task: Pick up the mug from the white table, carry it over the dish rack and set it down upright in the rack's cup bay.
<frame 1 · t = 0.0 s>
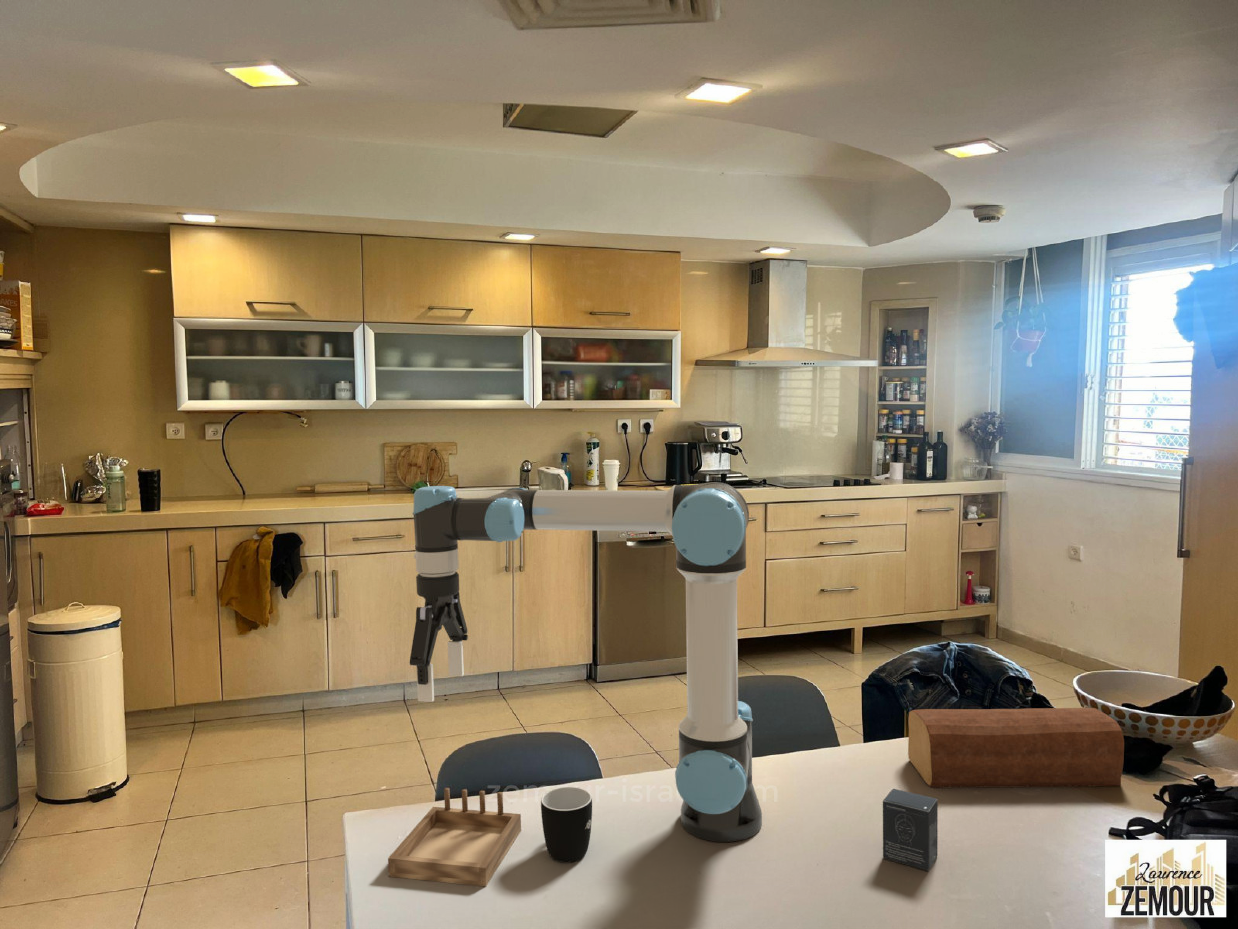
hand: (441, 687, 156), 28 cm above the table, fingers open, 13 cm apart
bread: (1010, 774, 180), on the table
mug: (568, 850, 153), on the table
rack: (458, 852, 153), on the table
box: (909, 859, 148), on the table
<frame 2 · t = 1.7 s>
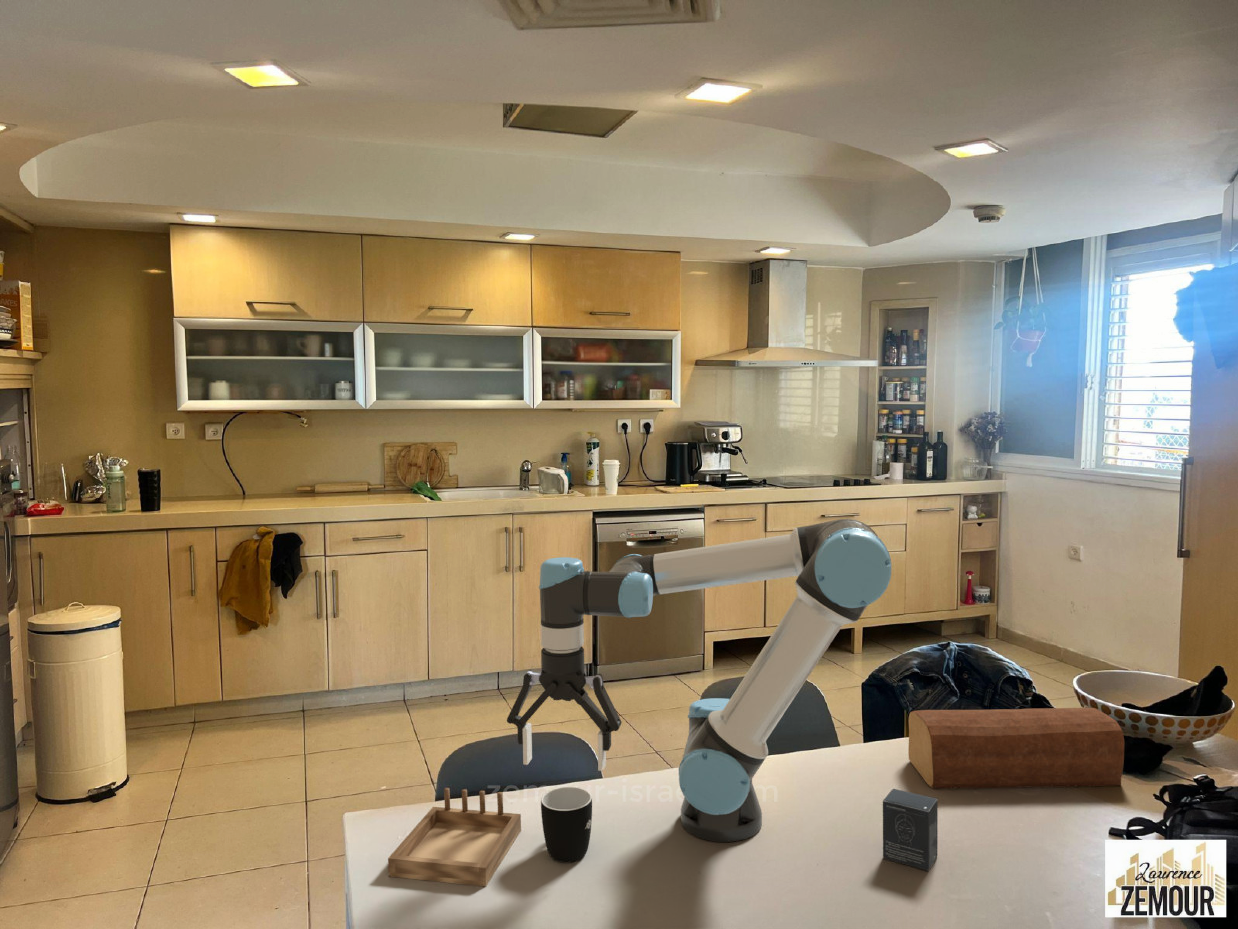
hand: (564, 764, 152), 15 cm above the table, fingers open, 13 cm apart
nothing on the table moved.
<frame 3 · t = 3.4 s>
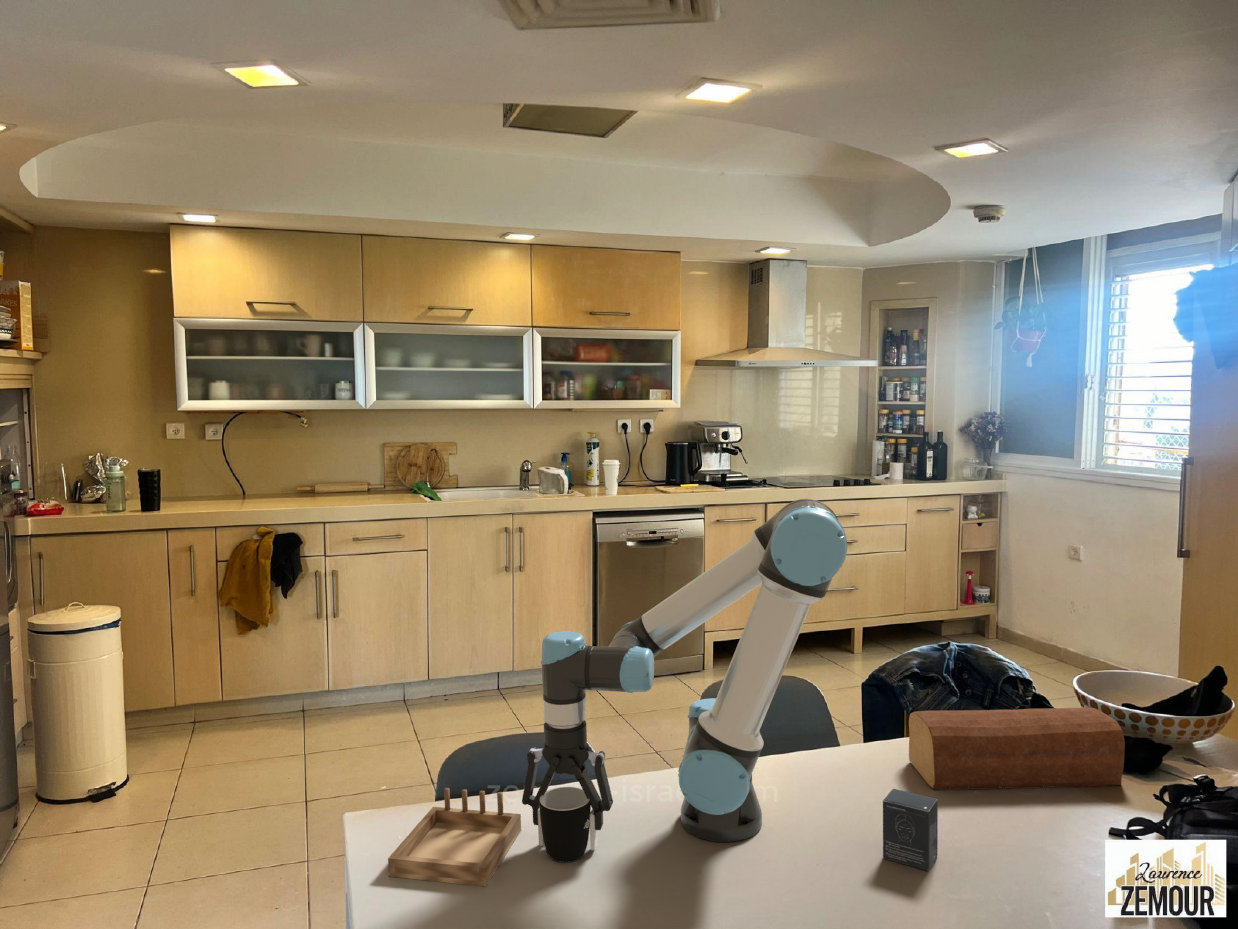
hand: (568, 843, 153), 1 cm above the table, fingers closed on mug, 9 cm apart
mug: (566, 849, 153), on the table, touching gripper
everything else where it was.
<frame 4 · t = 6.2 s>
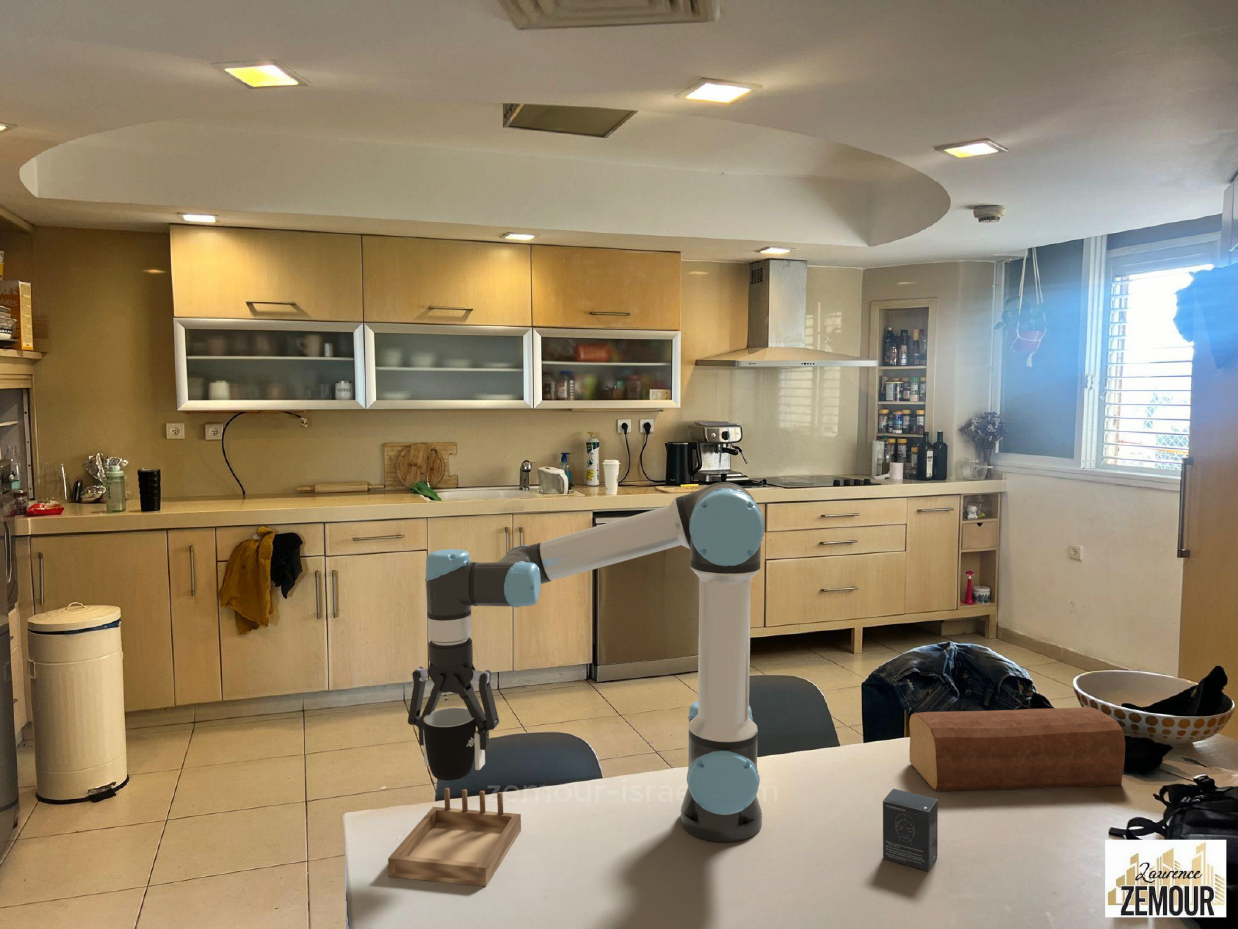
hand: (454, 764, 152), 16 cm above the table, fingers closed on mug, 9 cm apart
mug: (453, 770, 152), point 15 cm above the table, touching gripper
everything else where it was.
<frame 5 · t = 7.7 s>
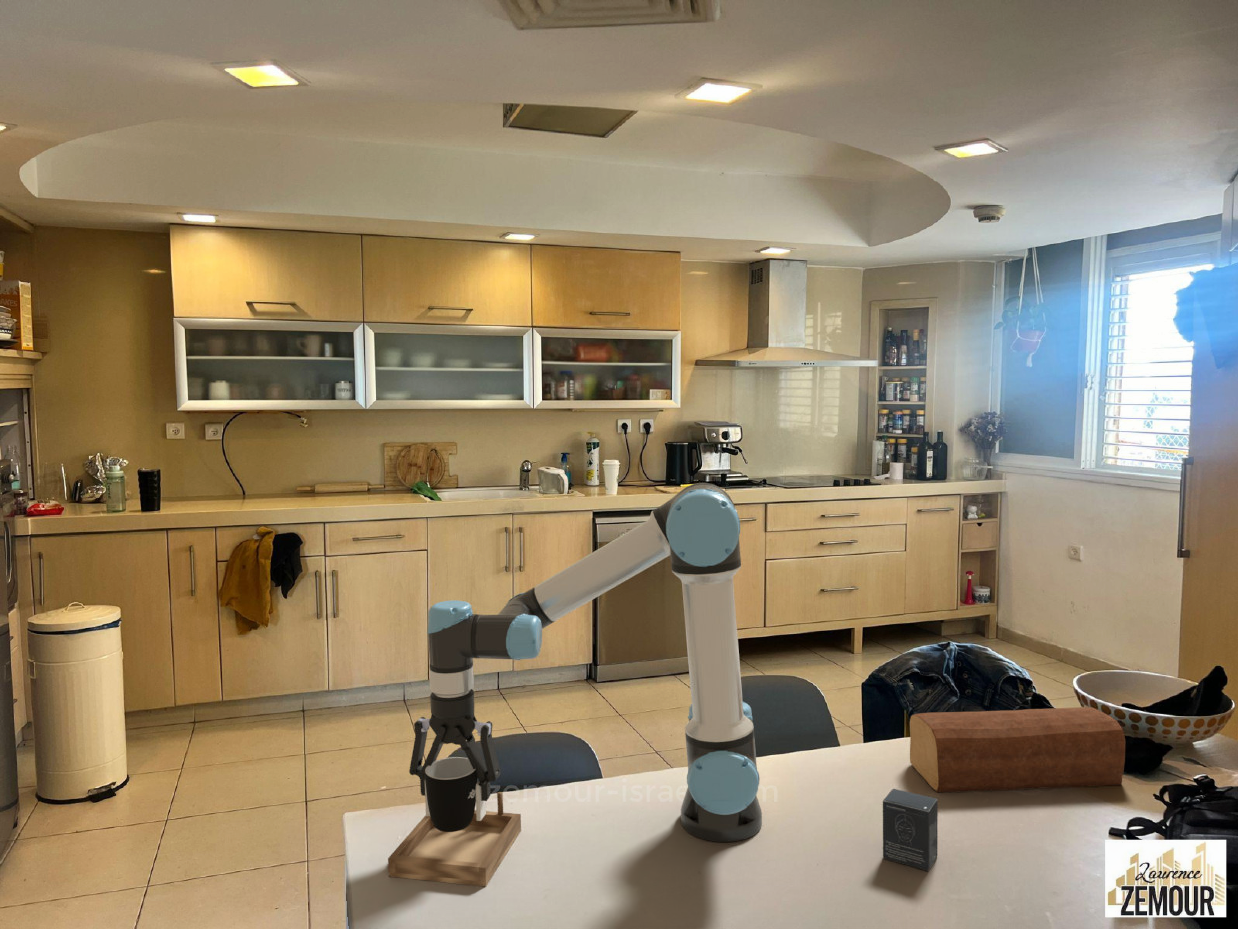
hand: (456, 814, 152), 7 cm above the table, fingers closed on mug, 9 cm apart
mug: (454, 820, 152), point 6 cm above the table, touching gripper
when the fingers open (4 cm above the table, at t = 8.8 s): mug drops 2 cm, resting on rack.
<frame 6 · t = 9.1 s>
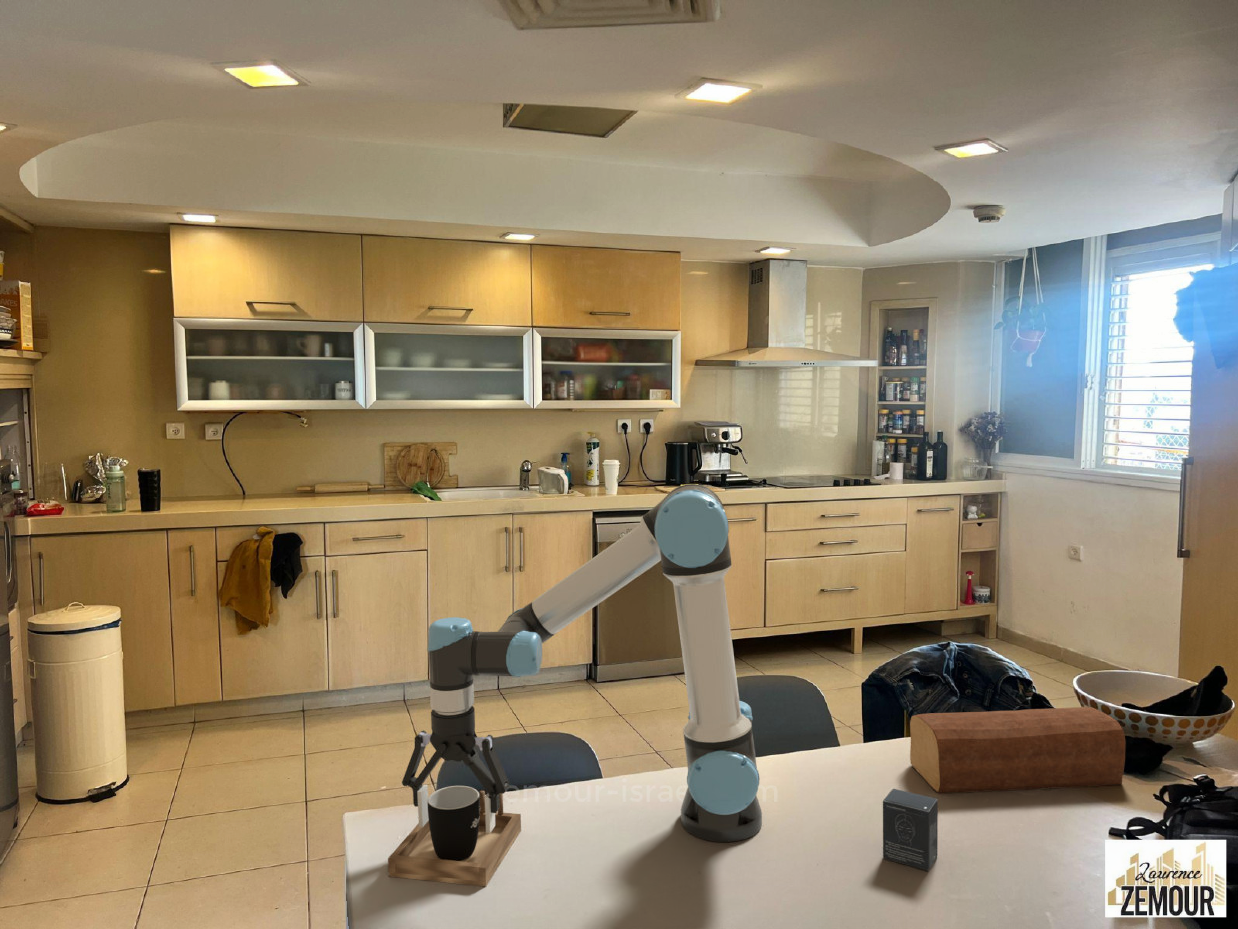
hand: (457, 826, 152), 5 cm above the table, fingers open, 12 cm apart
mug: (456, 849, 153), point 1 cm above the table, touching rack
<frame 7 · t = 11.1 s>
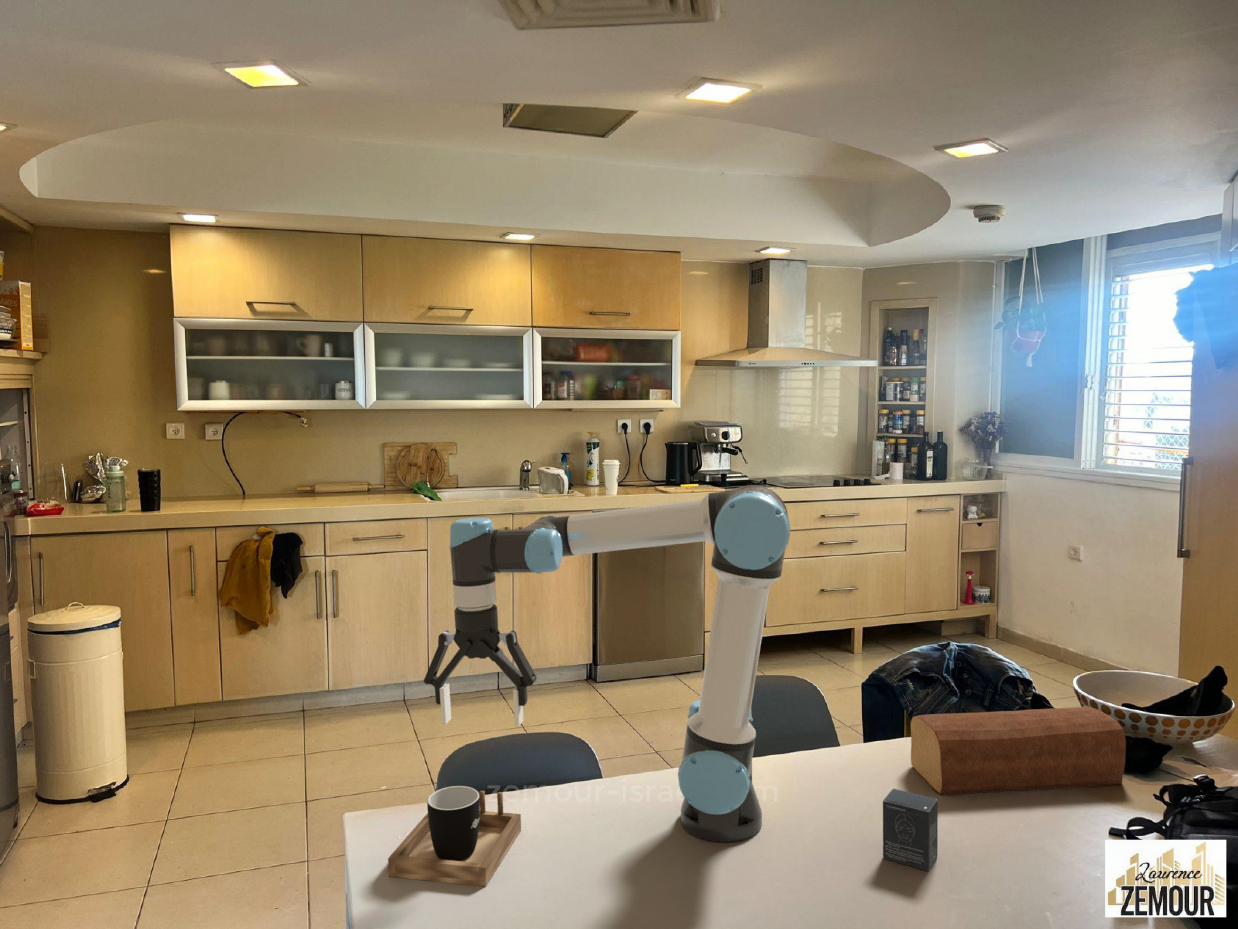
hand: (482, 722, 154), 22 cm above the table, fingers open, 13 cm apart
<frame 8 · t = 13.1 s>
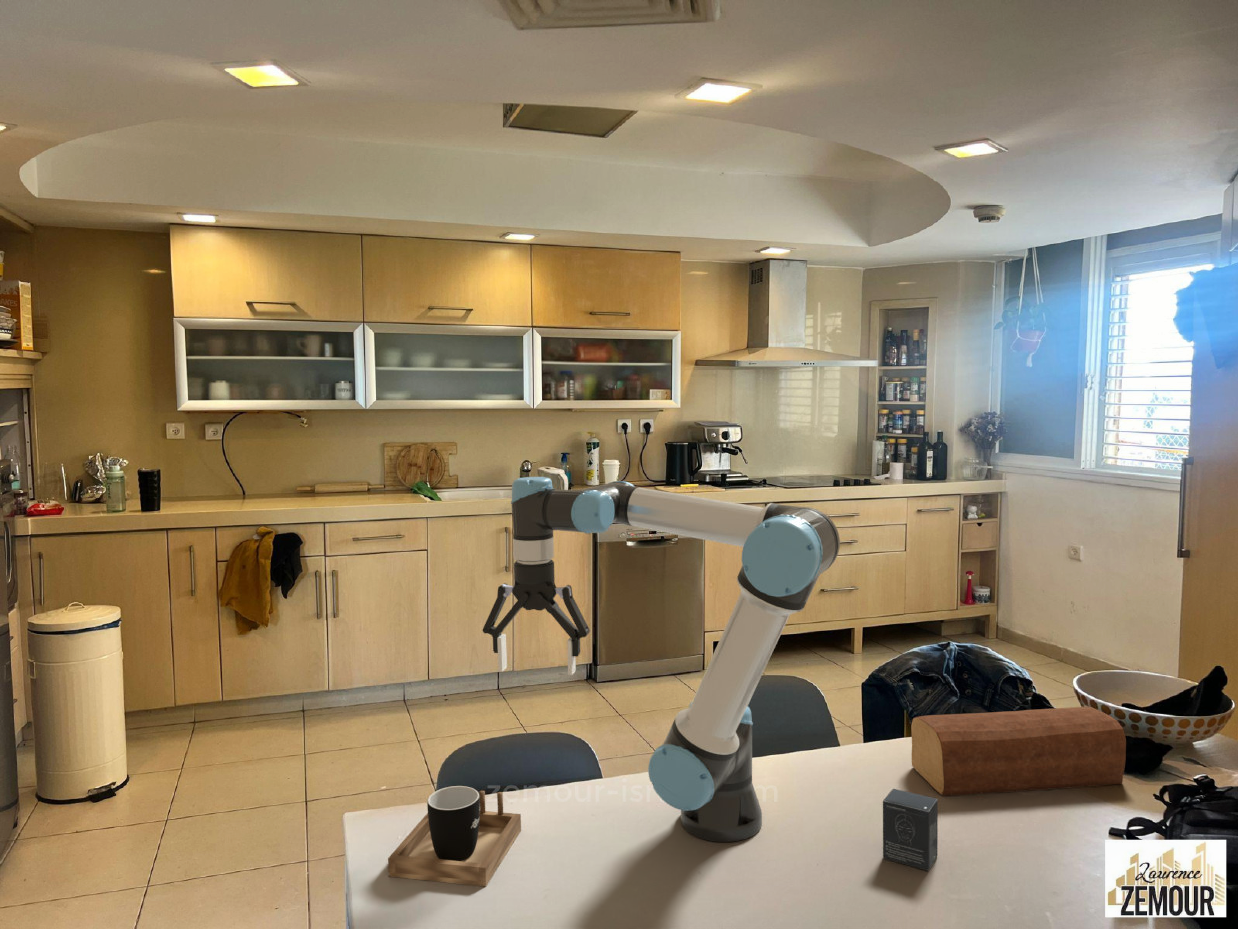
hand: (537, 671, 162), 29 cm above the table, fingers open, 13 cm apart
at the end: mug 0.2 cm from the rack (horizontally); mug point 0.6 cm above the table; mug tilted 0° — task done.
